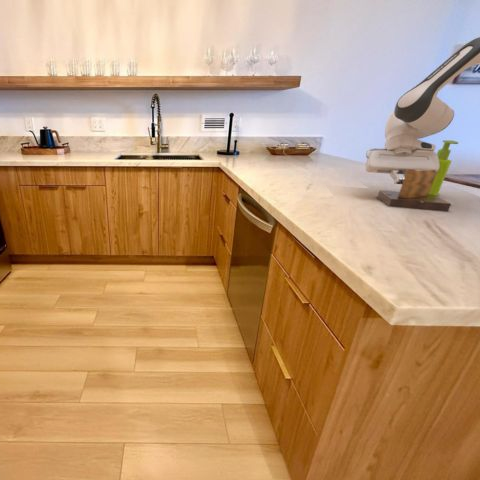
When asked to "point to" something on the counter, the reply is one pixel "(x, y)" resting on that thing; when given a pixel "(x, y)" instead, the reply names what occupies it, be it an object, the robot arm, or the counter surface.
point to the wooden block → (417, 183)
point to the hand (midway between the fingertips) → (400, 183)
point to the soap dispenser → (442, 167)
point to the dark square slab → (414, 201)
